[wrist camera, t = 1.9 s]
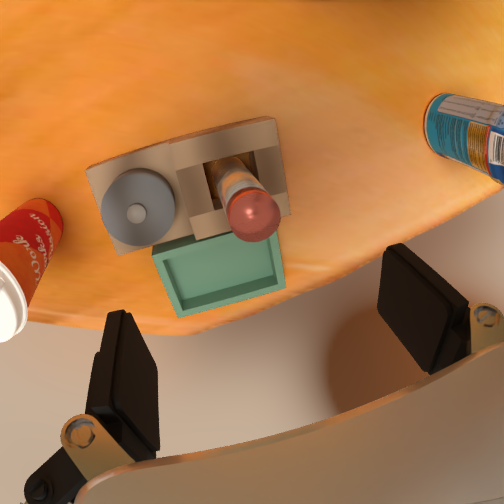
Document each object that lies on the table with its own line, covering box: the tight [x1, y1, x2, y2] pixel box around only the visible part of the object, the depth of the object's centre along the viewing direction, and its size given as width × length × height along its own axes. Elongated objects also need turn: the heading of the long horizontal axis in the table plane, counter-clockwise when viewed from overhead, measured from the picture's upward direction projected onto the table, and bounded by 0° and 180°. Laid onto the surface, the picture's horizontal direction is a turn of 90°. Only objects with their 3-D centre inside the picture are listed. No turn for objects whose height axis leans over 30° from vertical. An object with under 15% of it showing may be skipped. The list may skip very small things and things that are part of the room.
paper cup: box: [0, 199, 63, 342], centre depth 21 cm, size 8×8×14 cm
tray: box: [152, 230, 286, 318], centre depth 33 cm, size 12×8×2 cm, turn 101°
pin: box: [212, 156, 281, 242], centre depth 24 cm, size 3×3×12 cm
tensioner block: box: [85, 116, 291, 256], centre depth 27 cm, size 17×9×4 cm, turn 101°
